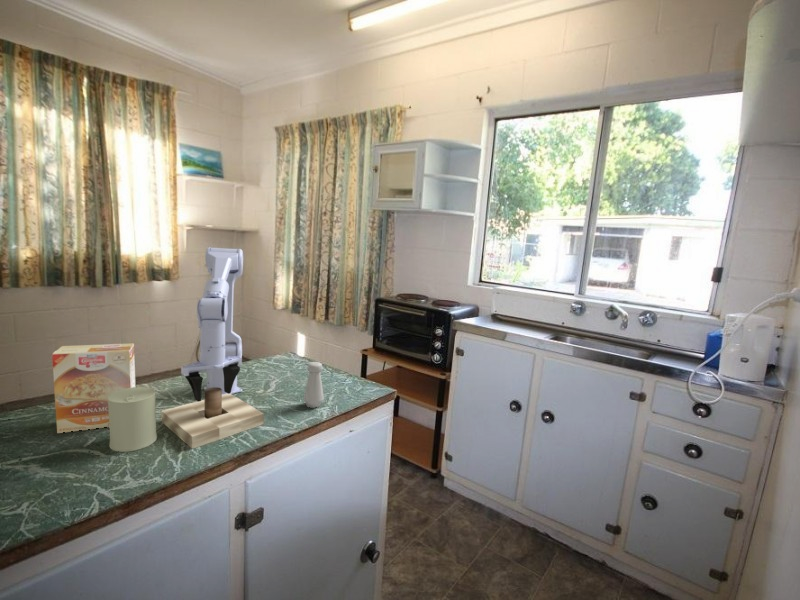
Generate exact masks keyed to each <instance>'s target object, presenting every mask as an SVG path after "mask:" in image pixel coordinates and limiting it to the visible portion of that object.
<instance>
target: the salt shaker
mask: <svg viewBox="0 0 800 600" xmlns="http://www.w3.org/2000/svg"><path fill="white" fill-rule="evenodd" d="M322 371H323V363H321V362H319V361H311V362H309V363H308V364H307V372H308V375H307V381H306V385H305V389H304V394H303V402H304V403H305V405H306V407H308V408H309V407H310V408H311V409H315V407H317V408H319V407H320V406H321V405H322V402H323V401H324V390H323V383H322V382H323V381H322V376H321V372H322Z"/></svg>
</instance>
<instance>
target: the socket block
mask: <svg viewBox="0 0 800 600" xmlns="http://www.w3.org/2000/svg"><path fill="white" fill-rule="evenodd" d="M160 414H161V423H162V424H164V425H165V426H166V428H168V429H169V430H170V431H171V432H173V433H174V434H175V435H176V436H177V437H178V438H179V439H181V440H182V441H183V442H184V443H185V444H186V445H187V446H188V447H190V448H191V449H192V450H193V449H197V448H198V447H199V448H200V447H202V446H204V445H207V444H211V443H213V442H217V441H220V440H223V439H225V438H228V437H231V436H233V435H236V434H240V433H243V432H245V431H248V430H251V429H253V428H257V427H259V426H262V425H264V418H265V413H264V412H262V411H260V410H259V409H257V408H255V407H254V406H252V405H250V404H249V403H247V402H245V401H244V400H242V399H240V398H239V397H237V396H235V395H234V394H224V395H222V415H219V416H216V417H212V418H209V419H207V418H205V401H204V399H201V401H199V402H198V401H193V402H190V403H187V404H186V403H185V404H182V405H179V406H178V405H177V406H175V407H170V408H166V409H163V410H161V413H160Z"/></svg>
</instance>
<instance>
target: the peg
mask: <svg viewBox="0 0 800 600" xmlns="http://www.w3.org/2000/svg"><path fill="white" fill-rule="evenodd" d="M203 392H204V398H203V400H204V401H205V418H207V419H209V418H212V417H216V416H219V415H222V389H221V388H218V387H212V388H208V389H206V390H205V389H204V391H203Z"/></svg>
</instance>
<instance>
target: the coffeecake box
mask: <svg viewBox="0 0 800 600" xmlns="http://www.w3.org/2000/svg"><path fill="white" fill-rule="evenodd" d="M51 358H52V373H53V388H54V389H53V390H54V404H55V421H56V422H55V423H56V431H57V432H56V433H57V434H63V432H65V433H72V432H71V431H73V432H80V431H79V430H82V431H88V429H90V430H97V429H96V428H99V429H105V428H104V427H107V428H110V427H109V409H108V399H107V398H108V396H109V395H110V394H112V393H113V392H116V391H118V390H122V389H126V388H132V387H136V366H135V343H133V342H132V343H131V342H129V343H111V344H110V343H107V344H87V345H85V344H82V345H80V344H79V345H61V346H60V347H59V348H58V349H57V350H55V351H54V352H52V357H51Z"/></svg>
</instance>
